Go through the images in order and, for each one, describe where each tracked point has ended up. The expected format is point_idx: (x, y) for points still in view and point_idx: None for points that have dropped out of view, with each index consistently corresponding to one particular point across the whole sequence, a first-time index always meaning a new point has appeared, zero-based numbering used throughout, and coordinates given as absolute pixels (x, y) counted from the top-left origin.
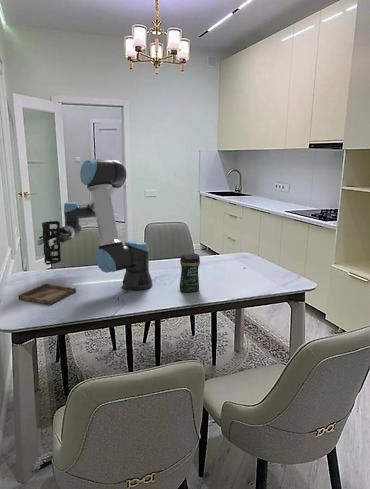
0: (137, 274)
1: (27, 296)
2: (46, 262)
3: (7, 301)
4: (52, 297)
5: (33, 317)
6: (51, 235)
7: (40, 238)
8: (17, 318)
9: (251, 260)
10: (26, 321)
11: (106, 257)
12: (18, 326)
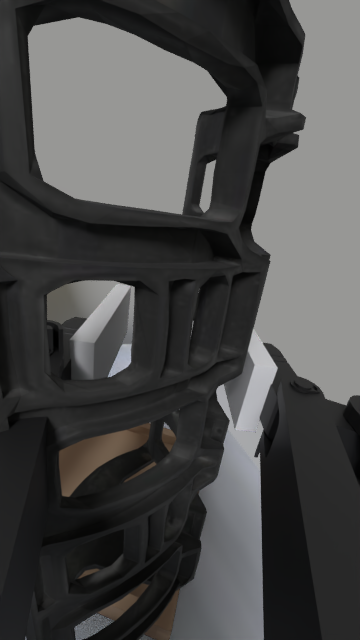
0: None
1: (172, 433)
2: (146, 446)
3: (229, 439)
4: (88, 458)
5: (112, 366)
6: (176, 360)
7: (339, 408)
8: None
9: None
10: (121, 356)
11: None
12: (128, 346)
